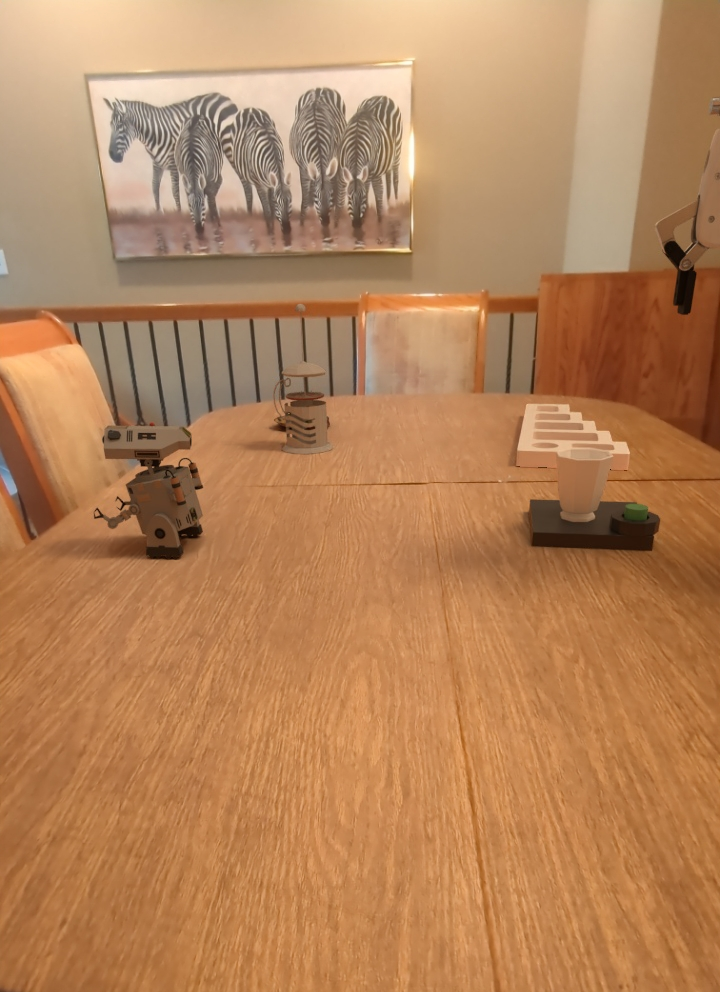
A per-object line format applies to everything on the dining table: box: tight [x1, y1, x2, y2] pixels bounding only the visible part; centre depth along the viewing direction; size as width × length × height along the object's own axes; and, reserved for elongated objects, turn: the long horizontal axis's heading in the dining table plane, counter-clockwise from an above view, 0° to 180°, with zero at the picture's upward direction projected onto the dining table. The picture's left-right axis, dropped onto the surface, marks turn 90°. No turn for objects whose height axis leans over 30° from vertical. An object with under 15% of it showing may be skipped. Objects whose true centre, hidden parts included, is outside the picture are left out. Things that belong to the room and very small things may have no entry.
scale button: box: [624, 503, 649, 521], centre depth 90 cm, size 3×3×2 cm
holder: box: [515, 403, 631, 471], centre depth 144 cm, size 45×18×3 cm, turn 167°
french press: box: [272, 303, 334, 455], centre depth 138 cm, size 10×12×25 cm
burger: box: [273, 390, 331, 430], centre depth 159 cm, size 12×12×8 cm
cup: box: [556, 448, 614, 522], centre depth 95 cm, size 7×10×8 cm
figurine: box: [93, 422, 204, 560], centre depth 92 cm, size 9×12×15 cm
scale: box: [528, 498, 661, 552], centre depth 96 cm, size 15×14×4 cm
